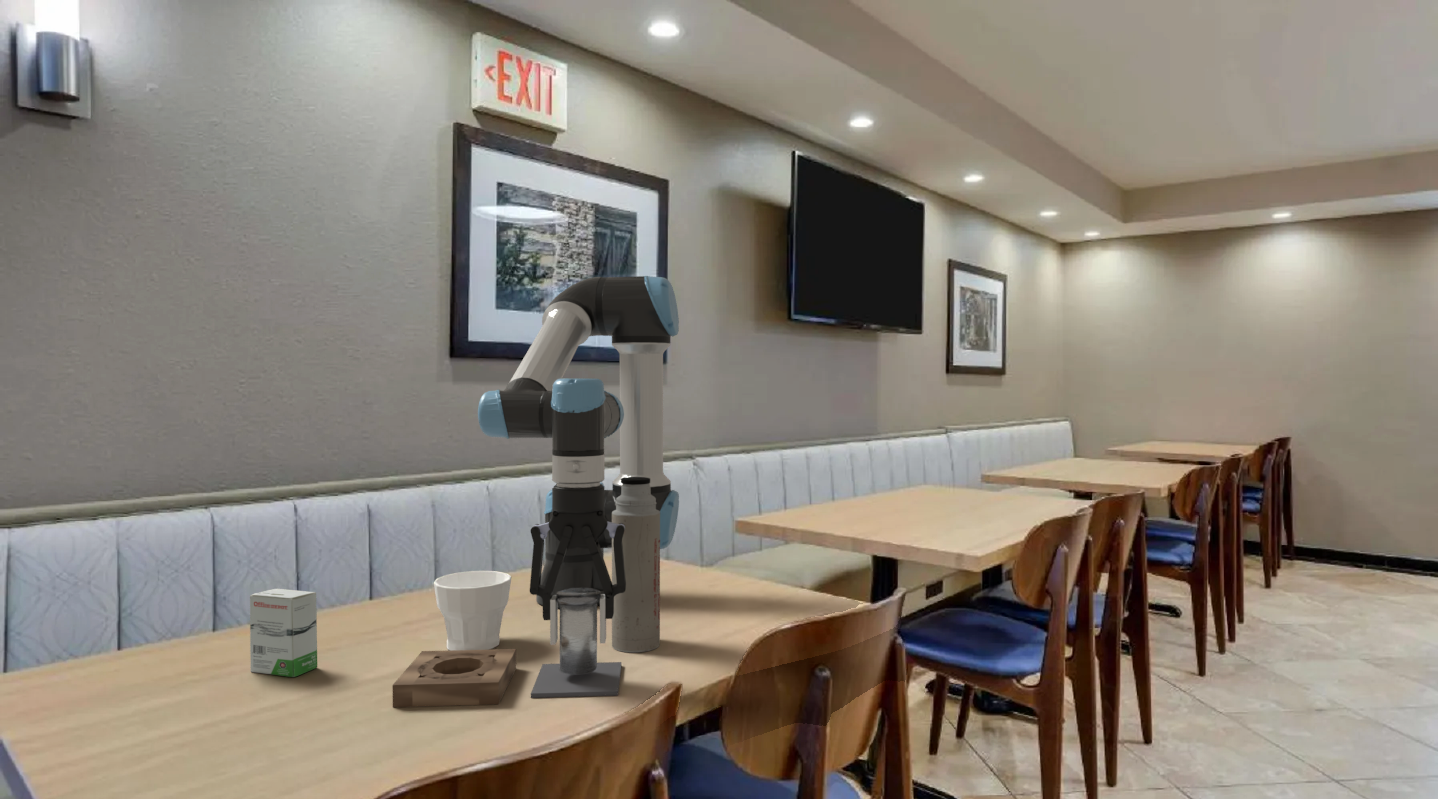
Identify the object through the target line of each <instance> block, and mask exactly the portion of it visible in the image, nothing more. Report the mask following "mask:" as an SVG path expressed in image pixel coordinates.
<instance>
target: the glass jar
mask: <svg viewBox="0 0 1438 799" xmlns="http://www.w3.org/2000/svg"><path fill="white" fill-rule="evenodd" d="M600 597H601V592H600V591H599V590H596V589H592V588H571V589H565V590H561V591H559V592H557V593H556V602H557V603H558V604H560V608H559V664H560V671H561V672H563V673H566V674H572V675H579V674H586V673H590V672H593V671H594V670H596V669H597V663H598V605H597V603H598V602H599V601H600Z"/></svg>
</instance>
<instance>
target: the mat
mask: <svg viewBox="0 0 1438 799" xmlns="http://www.w3.org/2000/svg"><path fill="white" fill-rule="evenodd" d="M621 673H622V661H613V662H612V661H611V662H610V661H609V662H605V661H604V662H597V669H596V670H594V671H593V672H590V673H586V674H579V675H572V674H566V673H563V672H561V671H560V663H542V665H541V668H540V669H539V672H538V674H537V676H536V680H535V682H534V685H533V687H532V689H531V692H530V698H531V699H533V698H534V699H535V698H536V699H537V698H538V699H539V698H567V697H569V698H570V697H571V698H572V697H573V698H574V697H575V698H576V697H608V696H619V690H620V682H621V681H620V680H621Z"/></svg>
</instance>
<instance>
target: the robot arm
mask: <svg viewBox="0 0 1438 799" xmlns="http://www.w3.org/2000/svg"><path fill="white" fill-rule="evenodd" d="M677 304H678V302H677V298H676V295H675V291H674V288H673V285H672V283H671V281H670V280H669V279H668V278H666V277H661V276H650V275H649V276H648V275H642V276H641V275H640V276H636V275H635V276H608V277H607V276H594V277H590V278H589V277H588V278H585V279H583V280H580V281H578V282H576V283H574V284H572V285H570V286H569V287H567V288H565V289H564V290H562V291H561V292H559V294H557V296H555V297H554V298H553V299H552V300H551V302H550V303H549V304H548V306H547V307H546V309H545V311H544V312H543V315H542V317H541V323H542V324H541V325H542V326H541V328H540V330H539V331H538V333H537V335H536V336H535V337H534V340H533V341H532V343H531V344H530V346H529V348H528V350H527V352H526V354H525V355H524V356H523V359H522V360H521V362H520V364H519V365H518V367H517V369H516V371H515V372H514V373H513V375H512V377H511V379H510V380H509V382H508V384H507V385H506V387H505V389H504V390H501V389H496V390H488V391H485V392H484V393H483V394H482V395H481V397H480V399H479V402H478V405H477V406H478V407H477V408H478V409H477V420H478V424H479V428H480V430H481V432H482V433H483V434H484V435H485V436H487V437H490V438H504V439H507V440H508V439H541V438H542V439H552V441H551V444H552V445H551V446H552V447H551V448H552V450H551V453H552V455H551V456H552V457H551V461H552V463H551V464H552V465H551V467H552V468H551V469H552V470H551V472H552V474H551V478H552V479H551V480H552V482H553V483H555V485H554V486H553V487H552V488H551V489H550V490H548V492H547V493H546V495H545V505H544V506H545V508H544V512H543V513H544V523H541V524H539V523H535V524H534V525H533V526H531V529H530V535H531V538H532V542H533V548H532V558H531V560H532V561H531V570H530V581H529V582H530V583H529V593H530V595H533V596H534V595H535V596H536V599H535V600H536V603H537V604H538V605H541V606H542V618H543V621H549V624H550V626H549V630H550V631H549V633H550V635H549V636H550V638H549V640H550V642H549V644H550V645H551V646H553V645H556V644H557V642H558V639H559V634H558V632H559V629H558V628H559V622H558V620H559V616H558V615H559V614H558V612H559V609H560V604H558V603H557V602H556V593H557V592H559V591H561V590H565V589H571V588H592V589H596V590H599V591H600V592H601V597H600V601H599V602H598V603H597V606H599V644H606V641H607V620H608V619H609V620H612V618H613V615H614V596H615V595H617V594H619V593H624V592H625V590H626V577H625V566H624V555H623V543H622V538H623V534H624V530H625V525H624V524H623V523H619V524H616V523H612V512H613V511H614V510H616V505H615V503H616V498H617V497H619V496H620V495H621V487H622V483H621V478H626V477H647V478H650V487H651V495H652V496H654V497H655V498H656V503H657V504H656V510H659V511H660V550H662V549H663V550H664V549H666V548H668V547H669V546H670V545H671V543H672V542H673V538H674V535H675V532H676V527H677V522H678V516H679V509H680V508H679V507H680V500H679V499H680V495H679V494H680V493H679V492H678V491H676V490H675V489H671V488H672V487H671V486H672V485H671V484H672V483H671V480H670V479H669V477H667V476H666V474H664V411H663V410H664V353H665V351H667V349H669V348H670V346H671V337H675V336H677V335H679V327H680V326H679V323H680V321H679V319H680V318H679V310H678V305H677ZM599 336H605V337H608V336H609V337H611V346H612V347H613V348H614V349H615V350H617V352H618V354H619V398H618V397H617V395H615V394H613V393H611V392H610V391H609V392H608V391H607V390H605V386H604V385H605V384H604V382H603V380H602V379H600V378H563V377H564V375H565V374H566V371H567V369H568V368H569V366H570V363H571V362H572V359H573V358H574V356H575V354H576V352H577V349H578V347H579V346H580V345H582V344H584V343H585V342H586V341H587V340H588V339H589V337H599ZM618 430H619V474H618V475H617V476H616V477H615V478H614V479H613V481H612V489H605V488H606V487H605V485H604V483H603V481H605V457H606V456H605V439H606V438H607V437H610V436H612V435H613V434H615V433H616V432H617V431H618ZM612 538H614V541H613V547H614V558H615V569H616V580H617V584H614V585H612V578H611V576H610V574H609V573H610V572H609V570H608V568H607V565H606V562H605V558H604V556H605V555H604V549H612ZM544 548H545V550H544ZM544 551H545V553H544ZM544 555H545V557H544ZM544 558H545V559H544ZM543 559H544V560H543ZM543 561H544V565H543Z"/></svg>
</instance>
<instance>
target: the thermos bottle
mask: <svg viewBox="0 0 1438 799" xmlns="http://www.w3.org/2000/svg"><path fill="white" fill-rule="evenodd" d="M621 483H622V487H621V495H620V496H619V497H617V498H616V503H615V505H616V510H614V511H613V512H612V523H616V524H619V523H623V524H624V525H625V530H624V534H623V538H622V543H623V555H624V566H625V577H626V590H625V592H624V593H619V594H617V595H615V596H614V615H613V618H612V619H611V648H613V650H616V651H619V652H622V653H645V652H650V651H653V650H656V649H658V648H659V647H660V645H661V638H660V637H661V628H660V627H661V549H660V511H659V510H656V504H657V503H656V498H655V497H654V496H652V495H651V487H650V478H647V477H626V478H621ZM613 541H614V538H612V548H611V582H612V585H614V584H617V580H616V569H615V558H614V547H613Z"/></svg>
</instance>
